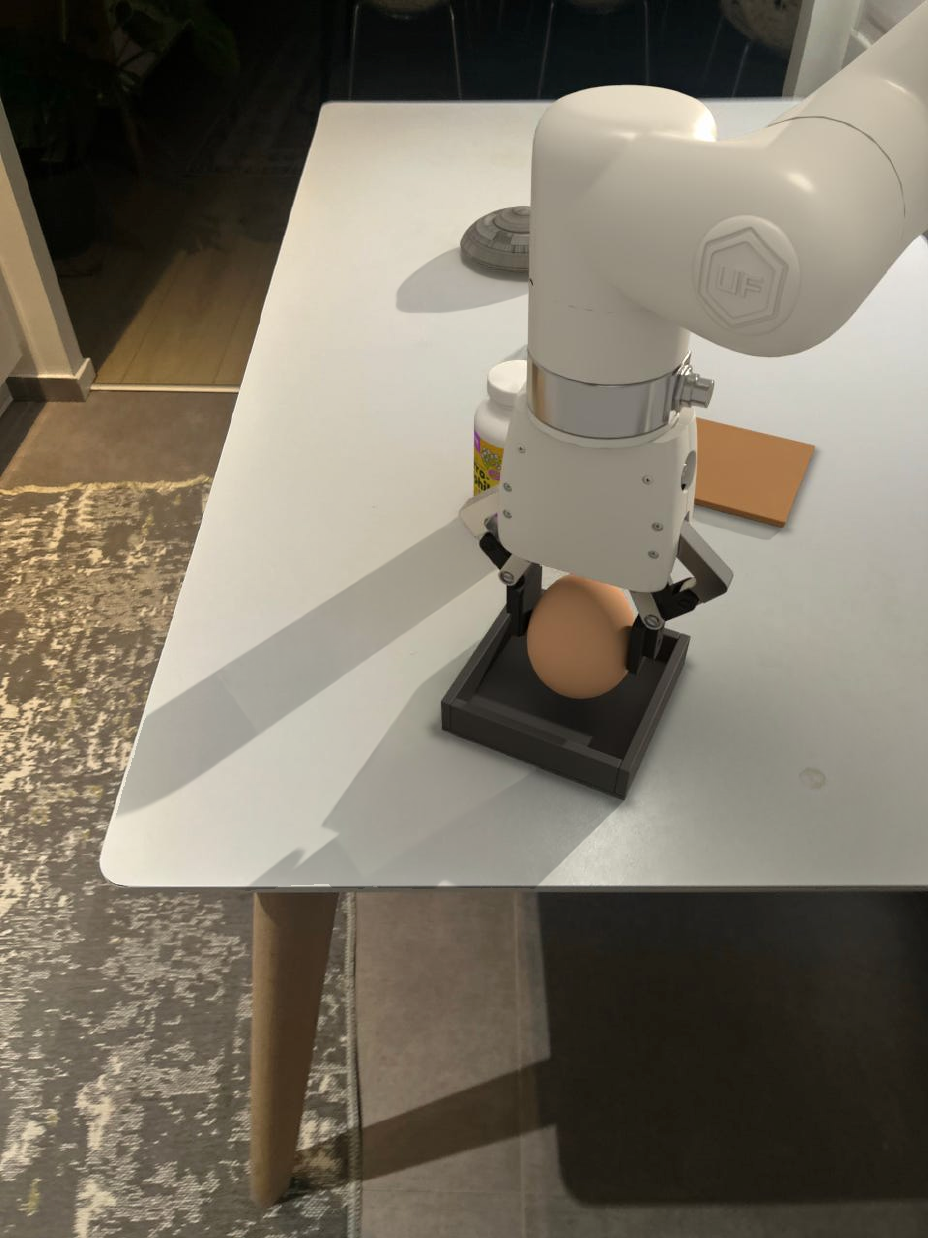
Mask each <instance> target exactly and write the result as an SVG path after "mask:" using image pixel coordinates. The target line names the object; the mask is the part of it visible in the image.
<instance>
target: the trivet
mask: <svg viewBox="0 0 928 1238" xmlns="http://www.w3.org/2000/svg"><path fill="white" fill-rule="evenodd" d="M696 426H697V472H696V486H695V497H694V505H698V506H702V507H705V508H708V509H712V510H717V511H720V512H724V513H728V514H732V515H735V516H739V517H741V518H746V519H749V520H753V521H757V522H760V523H764V524H767V525H771V526H775V527H779V528H784V527H785V525H786V523H787V521H788V517H789V515H790V513H791V510H792V507H793V505H794V502H795V500H796V497H797V494H798V492H799V489H800V487H801V485H802V482H803V479H804V477H805V474H806V471H807V469H808V467H809V464H810V461H811V459H812V456H813V453H814V451H815V448H816V445H814V444H809V443H805V442H801V441H797V440H793V439H789V438H785V437H782V436H777V435H772V434H768V433H764V432H760V431H757V430H756V431H755V430H752V429H747V428H744V427H740V426H735V425H730V424H726V423H722V422H718V421H714V420H710V419H706V418H702V417H697V416H696Z"/></svg>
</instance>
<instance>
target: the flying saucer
mask: <svg viewBox="0 0 928 1238" xmlns="http://www.w3.org/2000/svg"><path fill="white" fill-rule="evenodd" d="M459 246H460V249H461V251H462V252H463V253H464V255H465V256H466V257H468V258H469V259H470V260H472V261H473V262H475V263H477V264H480V265H481V266H485V267H487V268H491V269H495V270H499V271H505V272H513V273H514V272H515V273H529V248H530V206H529V205H518V206H517V205H516V206H509V207H503V208H499V209H496V210H494V211H491V212H489V213H487V214H484V215H483V216H482V217H479V218H478V219H476V220H475V221H474V222H473V223H472V224H470V226H469V227H468V228H466V230H465V232H464V233H463V235H462V237H461V239H460V242H459Z"/></svg>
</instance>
